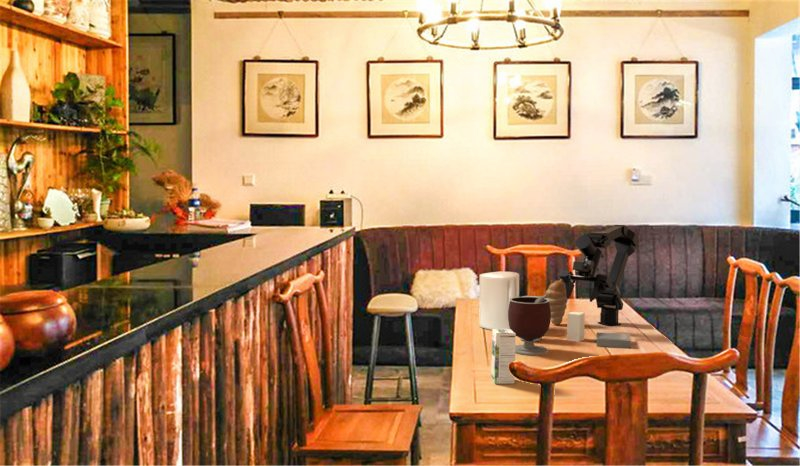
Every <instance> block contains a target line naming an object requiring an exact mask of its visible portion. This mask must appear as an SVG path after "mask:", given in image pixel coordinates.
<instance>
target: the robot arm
mask: <svg viewBox="0 0 800 466" xmlns="http://www.w3.org/2000/svg"><path fill="white" fill-rule="evenodd" d="M612 241H613V242H614V246H615V249H616V253H615V255H614V256H615V257H614V258H613V262H612V265H611V268H610V270H609V273H608V274H600V273H598V274H597V272H599V270H600V269H599V265H600V261H601V259H602V258H603V259H604V257H605V256H604V254H603V251H602V250H601V249H607V248H608V247H609V246H610V245H611V242H612ZM574 244H575V247H576V248H577V249H578V251H579V252H580V253H581V254H582V256H584V258H583V260H581V261H577V260H575V261H573V264H572V269H571V270H572V271H575V273H576V274H577V275H576V274H574V273H573V272H572V271H571V270H561V271H560V273H559V276H558V277H559V278H560V279H562V280H563V284H564V285H565V289H566V298H567V299H568V300H569V299H570V297H571V295H572V293H573V290H574V288H575V283H576V281H577V282H586V283H593V288H592V291H591V293H590V296H589V302H593V301H594V300H595V301H596V302H595V303H596V307H597V309H600V316H599V320H600V321H597V324H600V325H604V326H607V327H611V326H612V327H613V326H618V325H622V322H619V314H620V312H619V311H622V310H623V308H624V302H623V301H622V298H621V292H620V289H619V288H620V282H622V278H623V275H624V272H625V270H626V269H625V268H626V266H627V263H628V259H629V257H630V256H631V255H633V254H634V253H635V252H636V250H637V248H638V246H639V244H640V239H639V237H638V236H637V234H636V232H634V231H633V230H631V229H629V227H628V226H627V225H625V224H613V225H612V226H611V227H609V228H606V229H605V230H602V231H590V232H589V233H587V232H586V233H585V232H584V233H582V235H580V236H578V237H577V239H576V240H575V242H574Z"/></svg>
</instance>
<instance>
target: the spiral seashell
mask: <svg viewBox="0 0 800 466" xmlns="http://www.w3.org/2000/svg"><path fill="white" fill-rule="evenodd" d="M544 295H548V297H546V299H548V300H549V304H550V310H551V321H550V323H551V324H552V325H556V326H559V325H561V324H562V322H563V318H564V316H565V313H566V310H567V307H568V306H567V304H568V300H569V299H567V298H566V284H565V283H564V282H563V280H562V279H561V278H560V279H559V280H554V279H550V284H549V286H548V287H547V290H546V291H545V293H544Z"/></svg>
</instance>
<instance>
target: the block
mask: <svg viewBox="0 0 800 466" xmlns="http://www.w3.org/2000/svg"><path fill="white" fill-rule="evenodd" d="M585 315H586V314H585V312H580V311H571V312H568V313H567V319H566V320H567V325H566V330H567V331H566V340H567V341H572V342H582V341H583V340H585V321H586V319H585V318H586V316H585Z"/></svg>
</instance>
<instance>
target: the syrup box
mask: <svg viewBox="0 0 800 466" xmlns="http://www.w3.org/2000/svg"><path fill="white" fill-rule="evenodd" d="M491 331H492V333H491V363H490V365H491V366H490V369H491V373H490V375H491V376H490V379H491V380H492V382H493V383H494V385H508V384H515V381H516V379H515V378H516V377H515V378H514V377H513V376H512V375H511V374H510V372H509V369H508V365H509V363H510V362H513V361H515V362H516V354H515V346H516V344H517V343H516V340H517V338H516V337H517V336H516V333H514V332H513V331H512V330H511V329H493V330H491Z"/></svg>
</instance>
